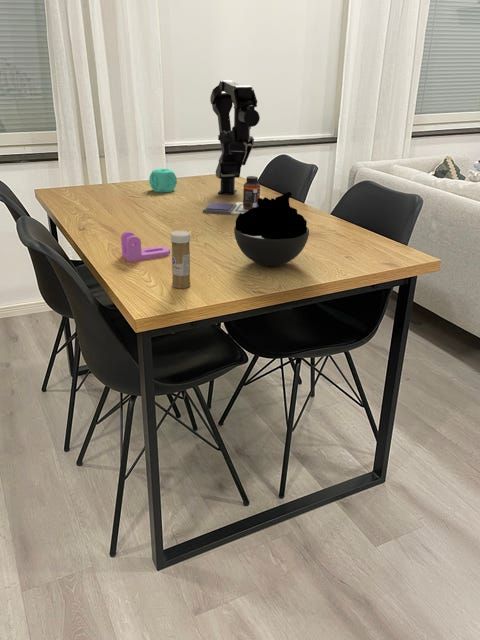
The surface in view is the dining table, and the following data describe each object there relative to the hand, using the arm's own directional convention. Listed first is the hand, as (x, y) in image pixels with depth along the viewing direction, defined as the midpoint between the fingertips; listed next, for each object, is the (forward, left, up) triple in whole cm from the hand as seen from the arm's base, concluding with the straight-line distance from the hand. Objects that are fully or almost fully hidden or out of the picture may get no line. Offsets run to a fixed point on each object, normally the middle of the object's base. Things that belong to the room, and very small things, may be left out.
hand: (241, 167), depth 215 cm
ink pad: (+13, -5, -13) cm, 19 cm away
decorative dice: (-11, -34, -13) cm, 38 cm away
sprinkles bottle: (+87, +2, -13) cm, 88 cm away
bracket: (+67, -14, -13) cm, 70 cm away
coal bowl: (+66, +21, -13) cm, 71 cm away
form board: (+10, +6, -13) cm, 17 cm away
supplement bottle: (+10, +6, -13) cm, 17 cm away
